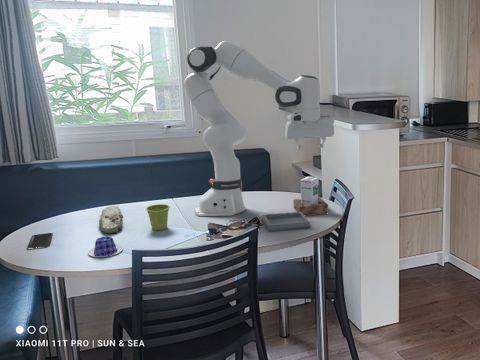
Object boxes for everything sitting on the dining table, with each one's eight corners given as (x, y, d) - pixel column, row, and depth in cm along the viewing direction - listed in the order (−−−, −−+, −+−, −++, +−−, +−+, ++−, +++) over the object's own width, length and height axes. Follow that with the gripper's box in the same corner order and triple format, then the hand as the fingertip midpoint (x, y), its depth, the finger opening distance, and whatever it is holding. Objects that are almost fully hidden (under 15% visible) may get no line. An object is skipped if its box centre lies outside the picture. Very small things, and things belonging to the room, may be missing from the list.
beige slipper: (123, 212, 226) (101, 216, 224) (121, 201, 225) (99, 205, 223) (125, 232, 192) (99, 236, 190) (123, 219, 191) (97, 223, 189)
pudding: (117, 244, 181) (116, 230, 180) (127, 253, 171) (126, 239, 170) (84, 251, 175) (83, 237, 174) (93, 261, 165) (91, 247, 164)
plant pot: (176, 226, 198) (174, 205, 196) (160, 233, 190) (158, 212, 188) (159, 223, 203) (157, 203, 201) (142, 229, 195) (140, 209, 193)
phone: (26, 247, 179) (32, 235, 193) (27, 250, 179) (32, 237, 193) (49, 244, 181) (53, 232, 195) (50, 247, 181) (53, 235, 195)
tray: (268, 231, 186) (268, 225, 185) (262, 220, 200) (262, 214, 199) (309, 228, 188) (309, 221, 187) (301, 217, 201) (301, 211, 201)
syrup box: (313, 213, 206) (312, 180, 202) (300, 211, 209) (300, 178, 206) (319, 210, 210) (319, 177, 207) (307, 208, 213) (306, 176, 210)
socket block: (300, 216, 203) (299, 206, 202) (293, 208, 215) (293, 199, 214) (328, 213, 204) (328, 204, 203) (320, 205, 216) (320, 197, 215)
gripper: (331, 113, 204) (331, 145, 208) (283, 116, 202) (284, 148, 205) (336, 114, 198) (336, 148, 201) (287, 117, 196) (288, 151, 199)
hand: (309, 148), depth 203 cm, fingers open, 8 cm apart
